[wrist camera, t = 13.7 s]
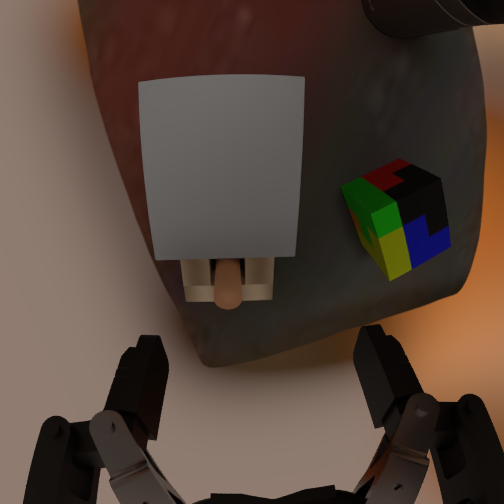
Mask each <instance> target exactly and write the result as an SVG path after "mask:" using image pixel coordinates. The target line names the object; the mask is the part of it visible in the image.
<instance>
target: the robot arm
mask: <svg viewBox="0 0 504 504" xmlns="http://www.w3.org/2000/svg"><path fill="white" fill-rule="evenodd" d="M362 2H363V7H364V10H365V12H366V14H367V16H368V18H369V19H370V20H371V22H372V23H373V24H374V25H375V26H376V27H377V28H378V29H379V30H381V31H382V32H384V33H385V34H387V35H389V36H391V37H395V38H402V39H403V38H409V37H413V36H424V35H429V34H435V33H440V32H447V31H453V30H459V29H461V28H464V27H472V26H479V25H492V24H504V0H362ZM353 361H354V365H355V368H356V371H357V374H358V377H359V380H360V383H361V386H362V389H363V392H364V396H365V399H366V401H367V405H368V408H369V411H370V414H371V418H372V421H373V424H374V427H375V429H376V428H380V427H384V429H385V434H384V436H383V438H382V440H381V443H380V445H379V447H378V449H377V451H376V453H375V455H374V457H373V459H372V461H371V463H370V465H369V467H368V469H367V471H366V472H365V474H364V475H363V477H362V478H361V480H360V481H359V483H358V484H357V486H356V488H355V489H354V491H353V493H351V492H348V491H343V490H335V486H334V485H330V486H324V487H317V488H311V489H304V490H301V491H299V492H296V493H293V494H290V495H287V496H283V497H280V498H277V499H268V498H262V497H256V496H250V495H245V494H217V493H211V498H208V499H204V500H201V501H198V502H195V503H193V504H414V502H415V500H416V498H417V495H418V493H419V491H420V488H421V485H422V483H423V480H424V478H425V475H426V472H427V470H428V467H429V462H430V460H429V459H428V458H427V453H428V450H429V449H430V452H431V455H432V459H433V463H434V466H435V470H436V474H437V478H438V482H439V486H440V491H441V495H442V500H443V504H504V452H503V449H502V447H501V444H500V441H499V439H498V436H497V433H496V431H495V428H494V426H493V423H492V421H491V418H490V416H489V414H488V411H487V409H486V407H485V405H484V403H483V401H482V400H481V398H480V397H478V396H476V395H474V394H466V395H463V396H462V397H461V398H460V399H459V400H458V402H438V401H437V400H436V399H435V398H434V397H433V396H431V395H430V394H427V393H424V391H423V390H422V387H421V385H420V383H419V381H418V379H417V377H416V375H415V372H414V370H413V368H412V366H411V364H410V363H409V360H408V358H407V356H406V355H405V352H404V350H403V348H402V346H401V344H400V343H399V342H398V341H397V340H396V339H395V338H394V337H393V336H392V335H387V336H386V335H385V333H384V331H383V329H382V327H381V325H380V324H376V325H368V326H362V327H361V328H360V331H359V335H358V338H357V342H356V345H355V349H354V352H353ZM168 374H169V362H168V358H167V355H166V352H165V350H164V347H163V344H162V340H161V338H160V336H159V335H141V336H140V337H139V339H138V342H137V345H136V347H129V348H128V349H127V351H125V353H124V354H123V355H122V356H121V359H120V362H119V365H118V369H117V370H116V373H115V377H114V380H113V383H112V385H111V389H110V392H109V395H108V398H107V401H106V404H105V407H104V409H103V411H101V412H99V413H97V414H96V415H95V416H94V417H93V418H92V419H91V420H90V421H84V422H75V423H69V422H68V421H67V420H66V419H65V418H63V417H61V416H52V417H50V418H48V419H47V420H45V422H44V423H43V425H42V427H41V430H40V434H39V437H38V441H37V444H36V448H35V451H34V455H33V459H32V463H31V467H30V472H29V476H28V480H27V485H26V490H25V495H24V500H23V504H96V500H97V492H98V484H99V477H100V470H101V468H106V469H107V470H108V472H109V475H110V478H111V479H110V480H109V482H110V485H111V488H112V489H113V491H114V493H115V495H116V497H117V498H118V500H119V502H120V504H186V503H185V501H184V500H183V499H182V498H181V496H180V495H179V494H178V493H177V492H176V490H175V489H174V488H173V487H172V486H171V484H170V483H169V482H168V480H167V479H166V477H165V476H164V475H163V473H162V472H161V470H160V469H159V467H158V466H157V464H156V463H155V461H154V459H153V458H152V456H151V455H150V453H149V452H148V450H147V442H148V440H157V434H158V429H159V423H160V417H161V411H162V406H163V400H164V395H165V389H166V384H167V379H168Z"/></svg>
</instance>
